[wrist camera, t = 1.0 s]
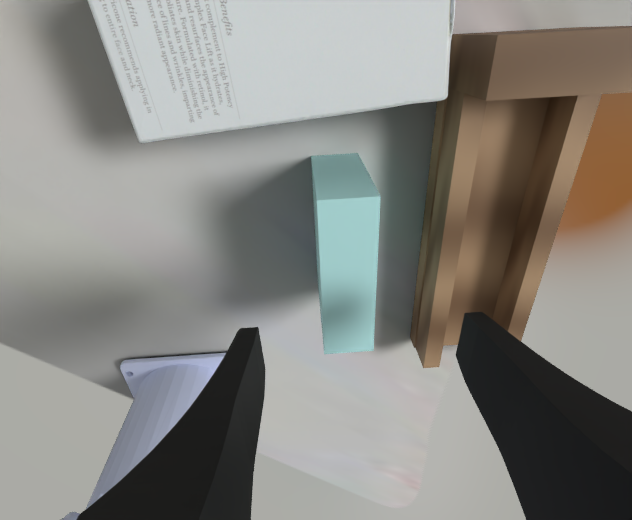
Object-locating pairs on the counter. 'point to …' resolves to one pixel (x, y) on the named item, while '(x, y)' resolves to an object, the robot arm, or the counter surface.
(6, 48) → the counter surface
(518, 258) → the track
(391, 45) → the skincare box
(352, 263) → the door panel
